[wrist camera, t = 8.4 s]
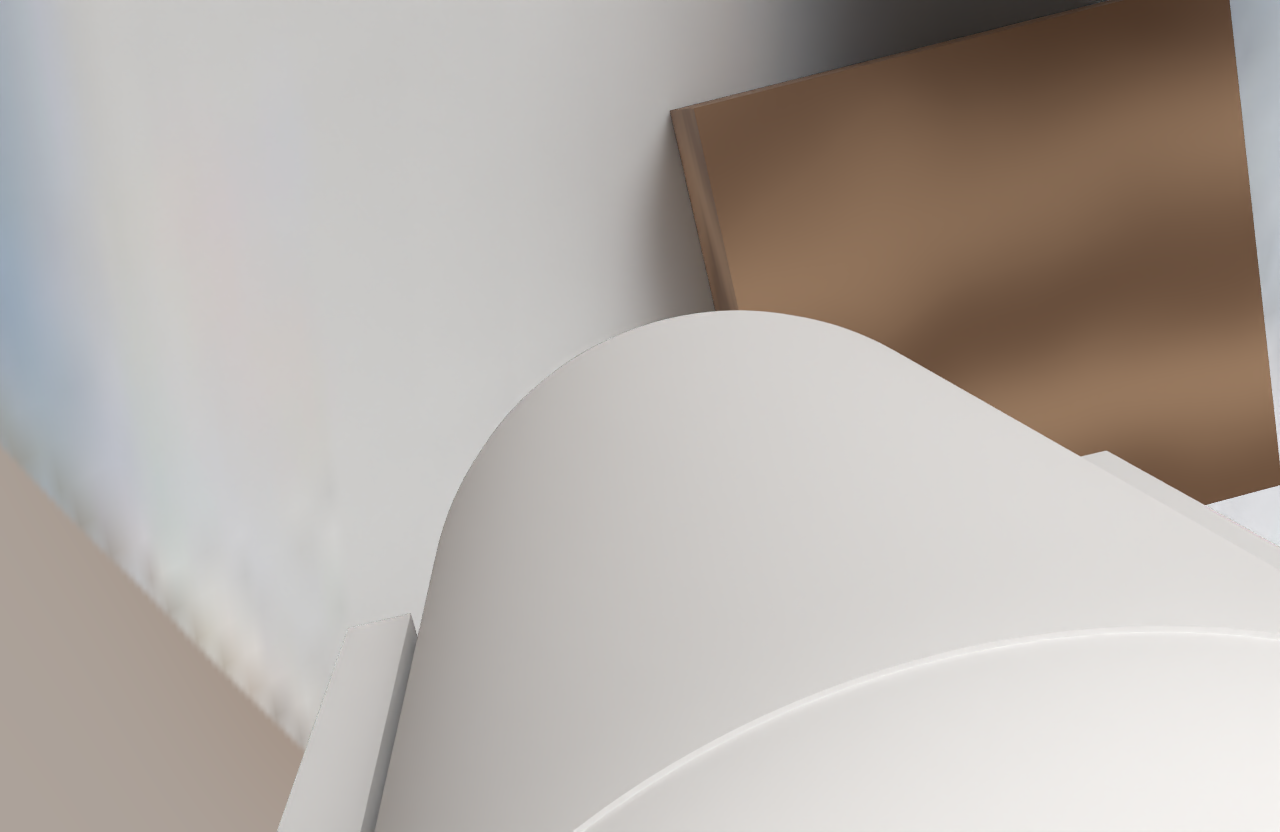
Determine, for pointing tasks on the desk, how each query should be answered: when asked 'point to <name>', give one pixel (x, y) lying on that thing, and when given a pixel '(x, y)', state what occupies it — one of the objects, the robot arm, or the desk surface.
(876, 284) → the walnut base
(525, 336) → the desk surface
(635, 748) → the pill bottle
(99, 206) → the desk surface
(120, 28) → the desk surface
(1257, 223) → the desk surface
